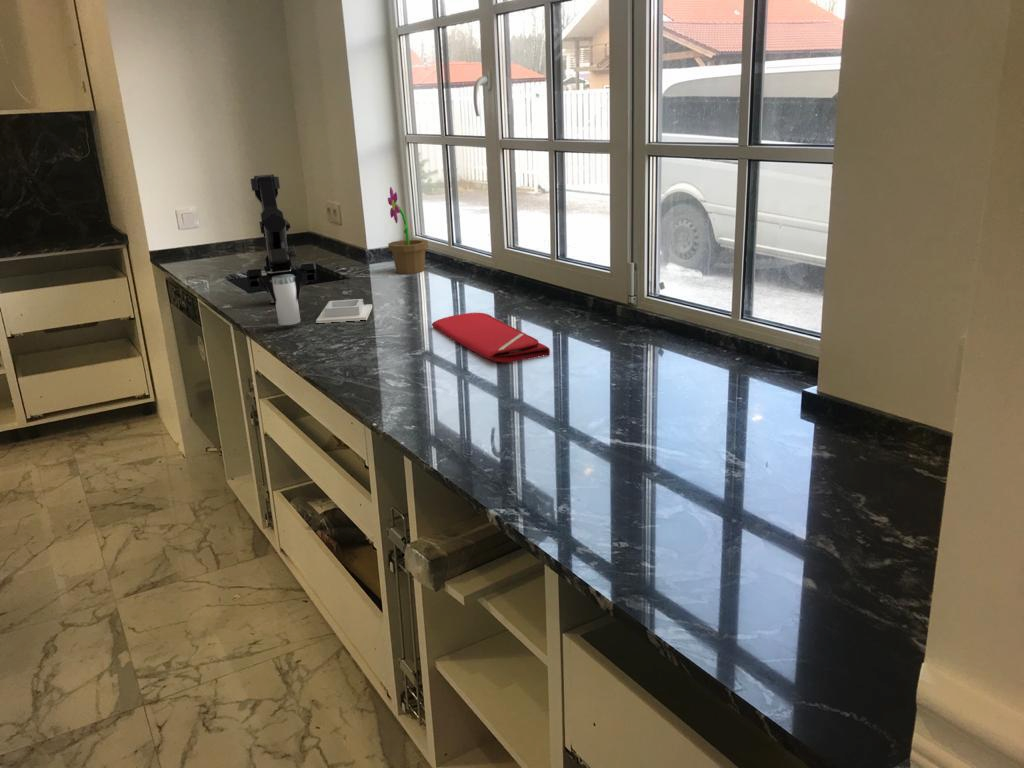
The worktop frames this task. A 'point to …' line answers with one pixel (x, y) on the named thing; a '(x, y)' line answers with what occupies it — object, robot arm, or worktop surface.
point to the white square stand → (344, 311)
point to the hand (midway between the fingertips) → (286, 300)
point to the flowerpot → (406, 245)
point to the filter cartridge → (286, 299)
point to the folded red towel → (490, 337)
